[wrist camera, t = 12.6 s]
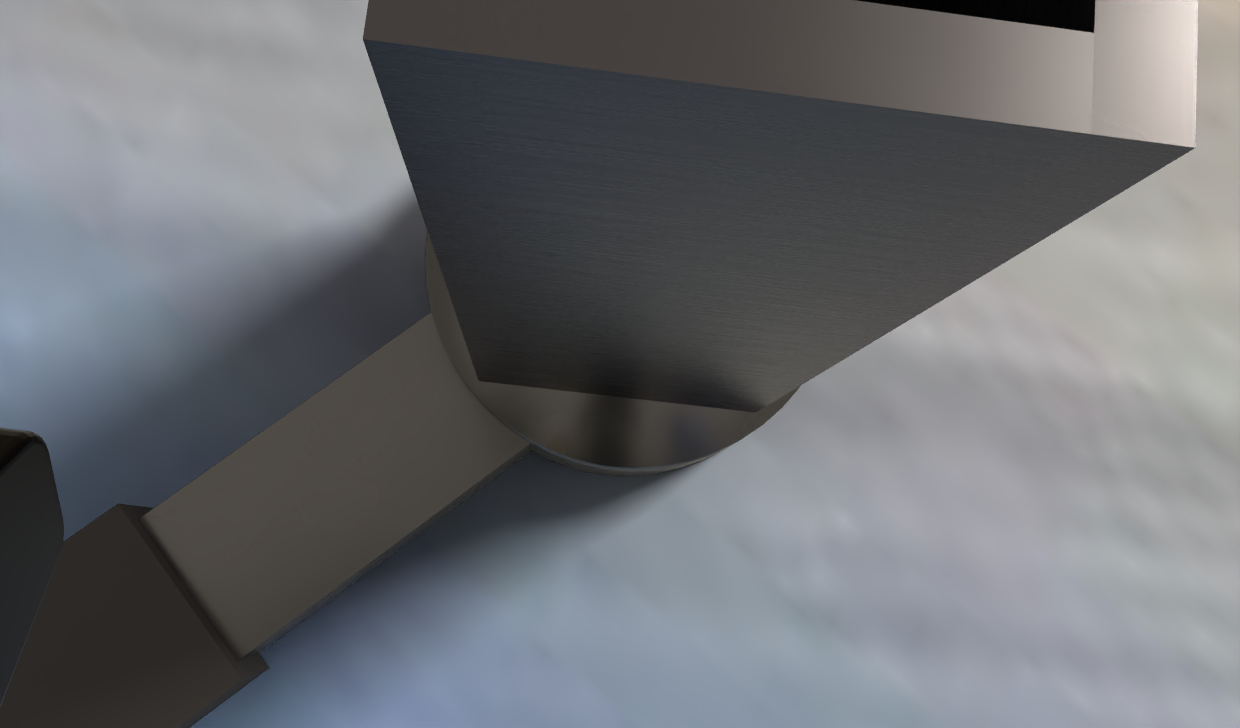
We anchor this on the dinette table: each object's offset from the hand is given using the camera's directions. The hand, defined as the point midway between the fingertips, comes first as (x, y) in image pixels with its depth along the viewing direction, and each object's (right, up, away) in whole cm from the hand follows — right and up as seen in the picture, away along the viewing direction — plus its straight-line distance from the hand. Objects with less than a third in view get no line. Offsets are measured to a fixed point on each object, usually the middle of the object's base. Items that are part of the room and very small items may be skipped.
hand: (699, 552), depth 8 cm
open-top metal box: (0, +3, +11) cm, 11 cm away
